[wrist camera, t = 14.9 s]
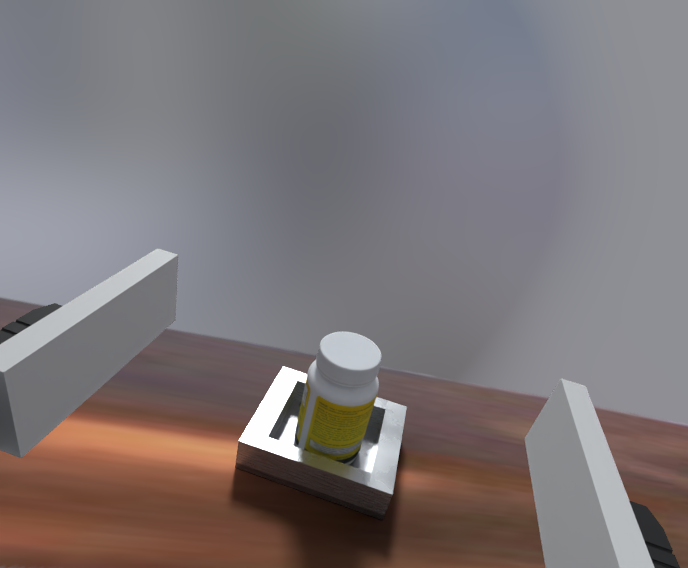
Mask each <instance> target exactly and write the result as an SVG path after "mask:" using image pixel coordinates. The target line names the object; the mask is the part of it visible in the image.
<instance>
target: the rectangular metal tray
mask: <svg viewBox="0 0 688 568" xmlns="http://www.w3.org/2000/svg"><path fill="white" fill-rule="evenodd" d="M306 378H307V374H304V373H301V372H298V371H295V370H292V369H289V368H286V367H283V368H282V370H281V371H280V373H279V375H278V376H277V378H276V380H275V381H274V383H273V385H272V386H271V388H270V390H269V391H268V393H267V395H266V396H265V398H264V400H263V401H262V403H261V405H260V406H259V408H258V410H257V411H256V413H255V415H254V416H253V418H252V420H251V421H250V423H249V425H248V426H247V428H246V430H245V431H244V433H243V435H242V436H241V438H240V440H239V443H238V451H237V458H236V466H235V468H238V469H241V470H244V471H247V472H249V473H252V474H255V475H258V476H260V477H263V478H266V479H269V480H272V481H274V482H277V483H280V484H283V485H286V486H288V487H291V488H294V489H297V490H299V491H302V492H305V493H308V494H311V495H313V496H316V497H319V498H322V499H325V500H327V501H330V502H333V503H336V504H338V505H341V506H344V507H347V508H350V509H352V510H355V511H358V512H361V513H364V514H366V515H369V516H372V517H375V518H377V519H380V520H383V518H384V515H385V513H386V510H387V508H388V505H389V503H390V500H391V497H392V495H393V489H394V483H395V477H396V470H397V464H398V458H399V451H400V445H401V439H402V433H403V426H404V420H405V414H406V408H407V407H405V406H402V405H399V404H396V403H393V402H390V401H387V400H384V399H381V398H378V397H376V400H375V403H374V406H373V409H372V413H371V416H370V419H369V422H368V425H367V429H366V432H365V435H364V438H363V441H362V445H361V449H360V451H359V453H358V456H357V457H356V459H355V460H354V461H353V462H352V463H351V464H349V465H347V464H344V463H341V462H338V461H335V460H332V459H329V458H326V457H324V456H321V455H318V454H315V453H312V452H309V451H306V450H303V449H301V448H298V447H296V446H295V440H294V436H295V430H296V426H297V421H298V416H299V411H300V406H301V402H302V397H303V392H304V387H305V383H306Z"/></svg>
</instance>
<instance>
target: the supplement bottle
mask: <svg viewBox="0 0 688 568" xmlns="http://www.w3.org/2000/svg"><path fill="white" fill-rule="evenodd" d="M380 363H381V352H380V350H379V348H378V347H377V346H376V344H375V343H373V342H372V341H371V340H369V339H368V338H366V337H364V336H362V335H359V334H356V333H351V332H335V333H331V334H329V335H327V336H326V337H324V338H323V339H322V341H321V343H320V346H319V350H318V353H317V357H316V360H315V361H314V362H313V363H312V364H311V366H310V368H309V370H308V373H307V378H306V383H305V387H304V392H303V397H302V402H301V406H300V411H299V416H298V421H297V426H296V430H295V436H294V440H295V446H296V447H298V448H301V449H303V450H306V451H309V452H312V453H315V454H318V455H321V456H324V457H326V458H329V459H332V460H335V461H338V462H341V463H344V464H347V465H349V464H351V463H352V462H353V461H354V460H355V459H356V457H357V456H358V453H359V451H360V449H361V445H362V441H363V438H364V435H365V432H366V429H367V425H368V422H369V419H370V416H371V413H372V409H373V406H374V403H375V400H376V397H377V393H378V388H379V383H378V378H377V375H378V372H379V367H380Z"/></svg>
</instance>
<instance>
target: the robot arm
mask: <svg viewBox="0 0 688 568" xmlns="http://www.w3.org/2000/svg"><path fill="white" fill-rule="evenodd" d="M177 267H178V255H177V254H173V253H171V252H167V251H164V250H161V249H156V250H154V251H153V252H151V253H149V254H148V255H146V256H144V257H143V258H141V259H140V260H138V261H136V262H135V263H133V264H131V265H130V266H128V267H126V268H125V269H123V270H121V271H120V272H118V273H117V274H115V275H113V276H112V277H110V278H108V279H107V280H105V281H103V282H102V283H100V284H98V285H97V286H95V287H93V288H92V289H90V290H89V291H87V292H85V293H84V294H82V295H80V296H79V297H77V298H75V299H74V300H72V301H70V302H69V303H67V304H66V305H64V306H61V305H58V304H51V305H48V306H44V307H41V308H38V309H35V310H32V311H31V312H29V313H27V314H25V315H24V316H22V317H20V318H18V319H17V320H16V322H12V323H10V324H8V325H6V326H5V327H3V328H2V330H0V450H1V451H4V452H6V453H9V454H12V455H14V456H17V457H19V458H22V457H23V456H24V455H25V454H26V453H27V452H29V451H30V450H31V449H32V448H33V447H34V446H35V445H36V444H38V443H39V442H40V441H41V440H42V439H43V438H44V437H45V436H46V435H48V434H49V433H50V432H51V431H52V430H53V429H54V428H55V427H57V426H58V425H59V424H60V423H61V422H62V421H63V420H64V419H65V418H67V417H68V416H69V415H70V414H71V413H72V412H73V411H74V410H76V409H77V408H78V407H79V406H80V405H81V404H82V403H83V402H84V401H86V400H87V399H88V398H89V397H90V396H91V395H92V394H93V393H95V392H96V391H97V390H98V389H99V388H100V387H101V386H102V385H103V384H105V383H106V382H107V381H108V380H109V379H110V378H111V377H112V376H114V375H115V374H116V373H117V372H118V371H119V370H120V369H121V368H122V367H124V366H125V365H126V364H127V363H128V362H129V361H130V360H131V359H133V358H134V357H135V356H136V355H137V354H138V353H139V352H140V351H141V350H143V349H144V348H145V347H146V346H147V345H148V344H149V343H150V342H152V341H153V340H154V339H155V338H156V337H157V336H158V335H159V334H160V333H162V332H163V331H164V330H165V329H166V328H167V327H168V326H169V325H171V324H172V323H173V322H174V321H175V318H176V317H175V316H176V294H177V269H178V268H177ZM525 444H526V450H527V456H528V462H529V468H530V474H531V481H532V487H533V493H534V499H535V505H536V511H537V517H538V523H539V530H540V536H541V542H542V548H543V554H544V560H545V566H546V568H680V567H679V564H678V562H677V560H676V557H675V555H673V554H672V551H673V550H672V548H671V546H670V543H669V541H668V539H667V536H666V534H665V532H664V529H663V528H662V526H661V525H660V524H659V522H658V521H657V520H656V518H655V517H654V516H653V515H652V513H651V512H650V511H649V509H648V508H647V507H646V506H643V505H640V504H637V503H634V502H631V501H629V499H628V497H627V494H626V491H625V489H624V486H623V483H622V481H621V478H620V475H619V473H618V470H617V467H616V465H615V462H614V460H613V457H612V454H611V452H610V449H609V446H608V444H607V441H606V438H605V436H604V433H603V431H602V428H601V425H600V423H599V420H598V417H597V415H596V412H595V409H594V407H593V404H592V402H591V399H590V396H589V394H588V391H587V388H586V386H584V385H580V384H577V383H574V382H571V381H568V380H565V379H562V378H561V379H560V381H559V383H558V384H557V386H556V387H555V389H554V391H553V393H552V394H551V396H550V397H549V399H548V401H547V402H546V404H545V406H544V407H543V409H542V411H541V412H540V414H539V416H538V417H537V419H536V421H535V422H534V424H533V426H532V427H531V429H530V431H529V432H528V434H527V436H526V437H525Z"/></svg>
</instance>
